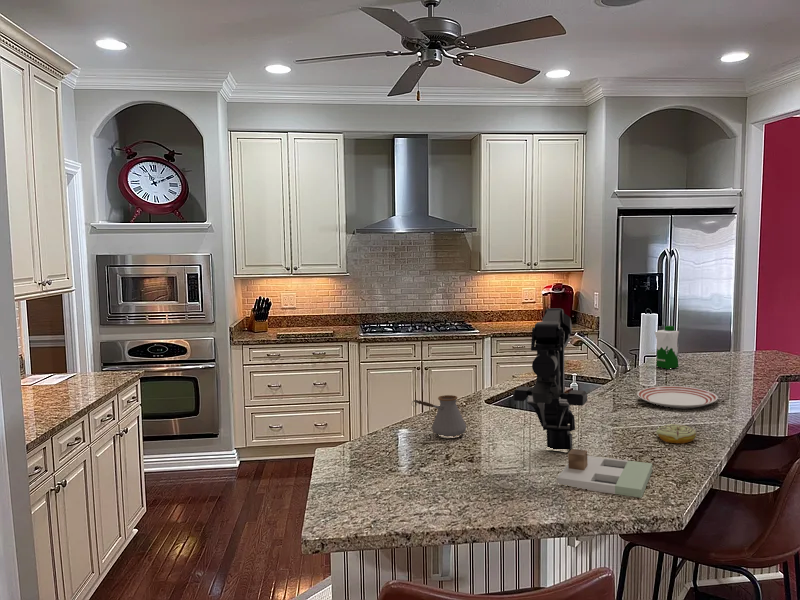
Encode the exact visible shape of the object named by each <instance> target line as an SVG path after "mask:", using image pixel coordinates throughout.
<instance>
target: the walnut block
mask: <svg viewBox="0 0 800 600" xmlns="http://www.w3.org/2000/svg"><path fill="white" fill-rule="evenodd" d="M587 456H588V450H586V449H585V450H583V449H578V448H577V449H575V448H571V449H570V450H569V451H568V452H567V458H568V459H567V461H568V462H567V464H568V466H569V468H570V469H577V470H585V468H586V467H587V465H588V463H587Z"/></svg>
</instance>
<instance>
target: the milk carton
mask: <svg viewBox="0 0 800 600" xmlns="http://www.w3.org/2000/svg"><path fill="white" fill-rule="evenodd" d="M656 331H657V332H656ZM679 333H680V330H676V329H675V325H665V326H664V329H660V330H658V329H657V330H655V331H654V335H655V339H656V364H655V365H656V366H658V367H662V368H666V369H670V368H676V367H679V354H678V353H679V352H678V351H679V348H678V347H679V346H678V344H679V343H678V340H679V335H680V334H679ZM666 369H665V370H666ZM676 369H677V368H676ZM670 370H671V369H670Z"/></svg>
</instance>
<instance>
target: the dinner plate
mask: <svg viewBox="0 0 800 600" xmlns="http://www.w3.org/2000/svg"><path fill="white" fill-rule="evenodd" d="M636 395H637V396H638V398H640V399H642V400H643V401H645V402H648V403H650V404H653V405H655V404H656V405H655V406H658V405H660V406H659V407H662V406H664V407H663V408H668V407H670V408H671V409H694V408H695V409H696V408H700V407H705V406H707V405H711V404H713V403H715V402H717V400H718V398H719V397H718V395H717V394H715V393H713V392H712V391H708V390H707V389H706V390H705V389H701V388H697V387H690V386H683V385H681V386H680V385H679V386H677V385H661V386H650V387H647V388H642V389H639V390H638V391H637V393H636ZM670 408H669V409H670Z"/></svg>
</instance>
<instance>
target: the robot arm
mask: <svg viewBox="0 0 800 600" xmlns="http://www.w3.org/2000/svg"><path fill="white" fill-rule="evenodd" d="M544 313H545V314H544V316H543V317H542V319H541V321H539V322H536V323H535V324H534V327H532V331H531V340H530V341H531V342H530V343H531V345H530V351H532V352H536V356H535V358H534V359H533V360H532V364H531V369H532V371H533V373H534V374H535V375H536V380H535V381H536V382H535V384H534V386H533V387H532V386H519V387H517V388H516V389H515V390H514V391H513V393H512V401H516V402H517V401H518V402H525V400H527V402H526V403H527V405H530V406H531V407H532V408H533V409H534V411H535V413H536V416H537V418H538V421H539V423H540V426H541V427H542V431H546V448H547V447H550V448H553V449H570V450H571V449H573V433H571V432H573V431H576V422H575V420H576V419H575V415H574V414H573V411H572V410H571V406H584V405H585V404H586V403H587V402H588V394H587V391H585V390H577V389H572V390H570V391H569V392H567V393H566V392H565V349H566V347H567V345H568V344H569V343H570V340H571V338H570V336H571V335H573V334H572V333H573V325H572V319H571V317H570V316H569V315H568V314H566V313H565V311H564V309H563V308H561V307H560V308H553V307H552V308H550V307H549V308H547V309H545V311H544Z"/></svg>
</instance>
